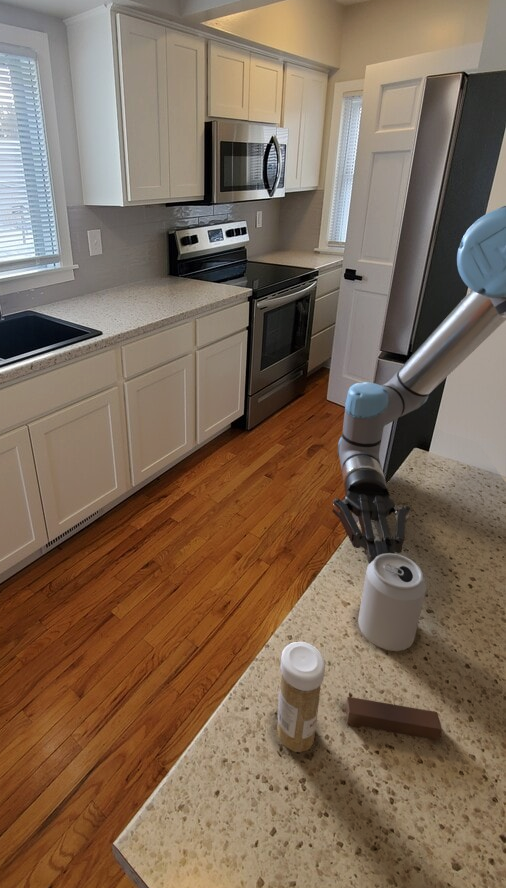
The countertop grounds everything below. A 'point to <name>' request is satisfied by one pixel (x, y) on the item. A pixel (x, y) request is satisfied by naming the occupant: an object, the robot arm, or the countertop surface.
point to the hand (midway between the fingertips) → (386, 579)
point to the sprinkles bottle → (299, 695)
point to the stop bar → (393, 718)
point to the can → (391, 601)
